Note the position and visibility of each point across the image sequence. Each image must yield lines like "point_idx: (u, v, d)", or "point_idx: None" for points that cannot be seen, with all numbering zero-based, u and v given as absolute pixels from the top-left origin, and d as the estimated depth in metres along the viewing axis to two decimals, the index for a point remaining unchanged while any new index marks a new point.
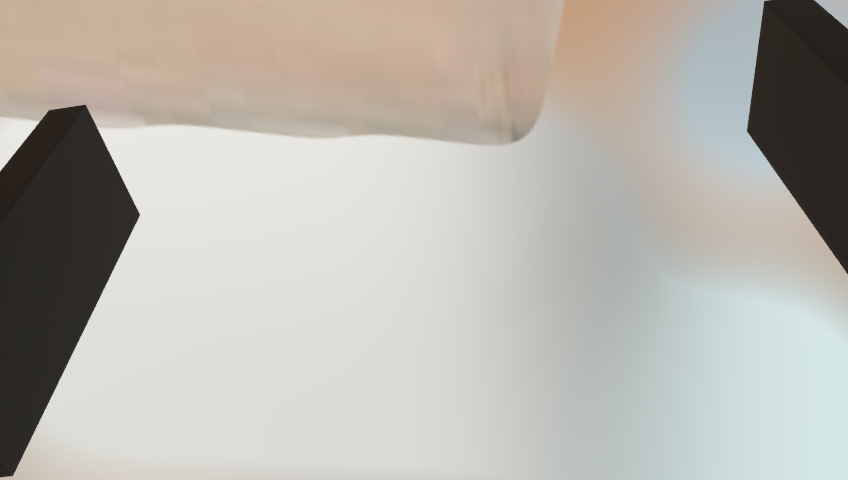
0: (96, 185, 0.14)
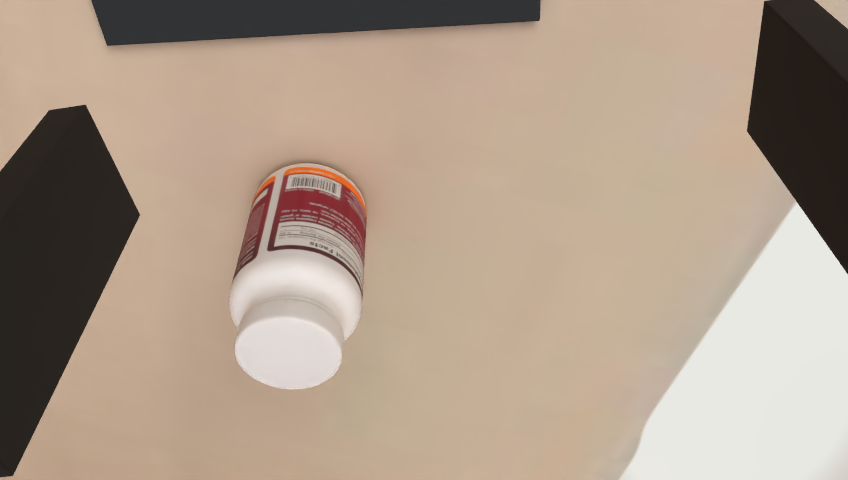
0: (96, 185, 0.14)
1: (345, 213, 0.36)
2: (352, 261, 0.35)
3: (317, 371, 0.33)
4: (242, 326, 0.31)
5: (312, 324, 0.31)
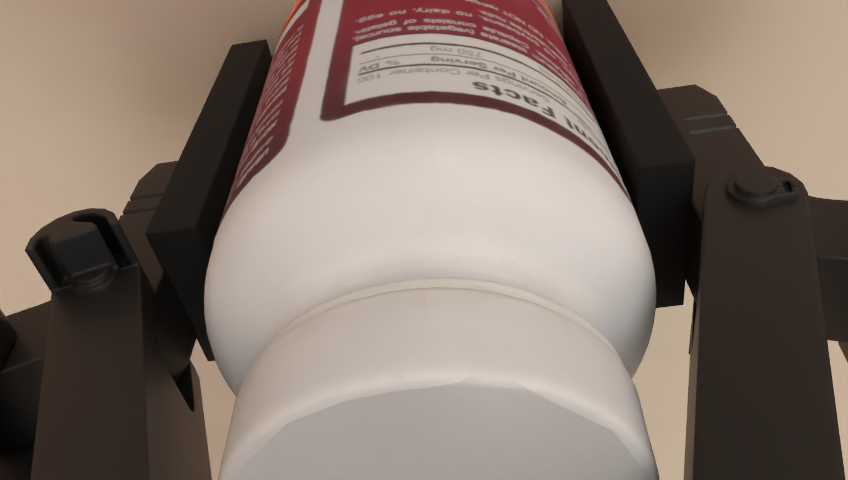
0: None
1: (544, 31, 0.12)
2: (608, 153, 0.10)
3: None
4: (239, 422, 0.07)
5: (556, 400, 0.07)
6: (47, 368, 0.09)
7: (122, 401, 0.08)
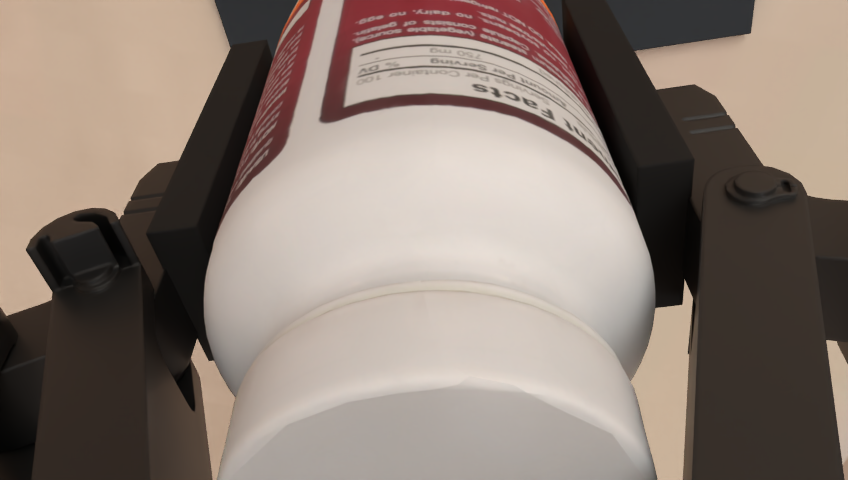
0: None
1: (544, 33, 0.12)
2: (608, 155, 0.10)
3: None
4: (238, 424, 0.07)
5: (553, 402, 0.07)
6: (48, 368, 0.09)
7: (122, 401, 0.08)
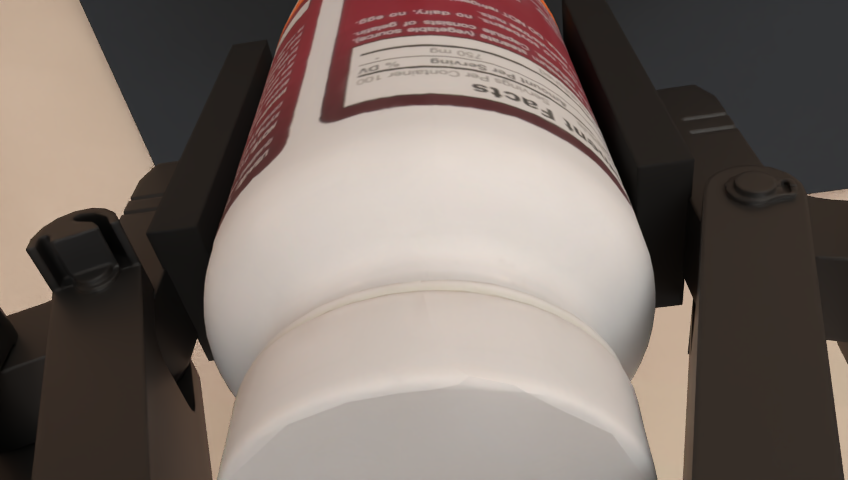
0: None
1: (544, 33, 0.12)
2: (607, 155, 0.10)
3: None
4: (238, 424, 0.07)
5: (553, 403, 0.07)
6: (48, 368, 0.09)
7: (123, 400, 0.08)
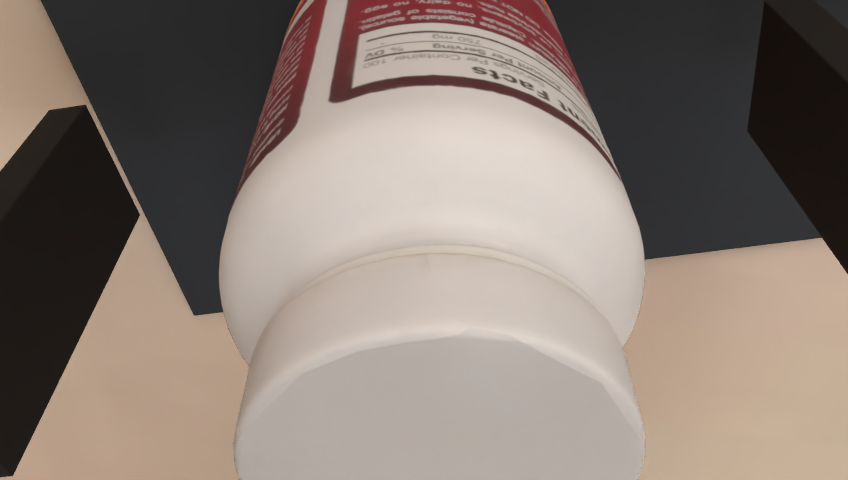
0: (96, 185, 0.14)
1: (540, 22, 0.13)
2: (600, 136, 0.11)
3: None
4: (256, 376, 0.08)
5: (547, 352, 0.07)
6: None
7: None
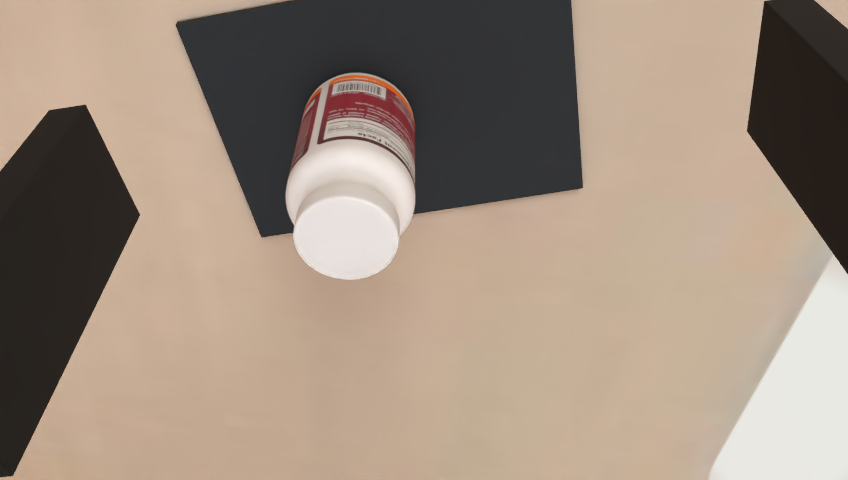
0: (96, 185, 0.14)
1: (391, 111, 0.37)
2: (402, 151, 0.35)
3: (376, 256, 0.33)
4: (298, 213, 0.32)
5: (365, 202, 0.31)
6: None
7: None
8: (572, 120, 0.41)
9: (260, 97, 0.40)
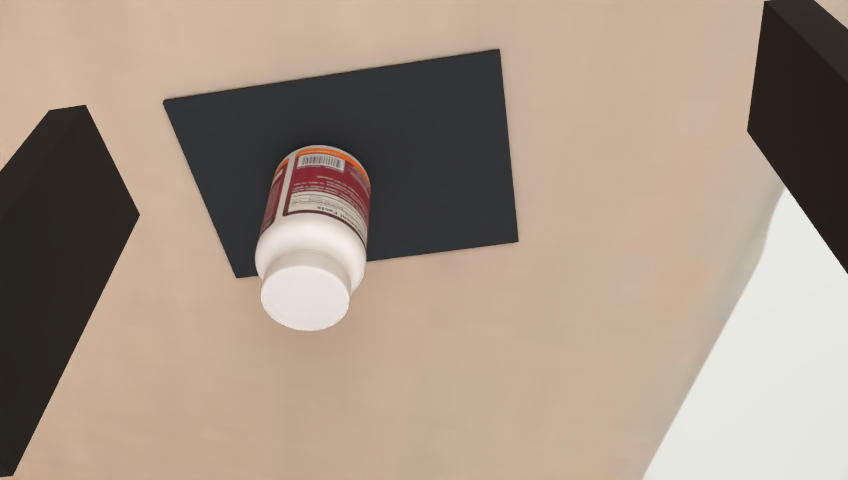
0: (96, 185, 0.14)
1: (348, 183, 0.43)
2: (355, 221, 0.41)
3: (330, 313, 0.39)
4: (265, 277, 0.38)
5: (321, 271, 0.37)
6: None
7: None
8: (507, 186, 0.48)
9: (236, 163, 0.46)
